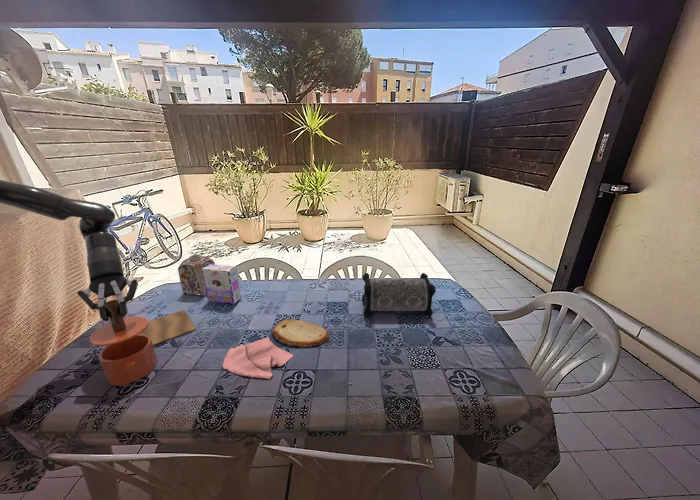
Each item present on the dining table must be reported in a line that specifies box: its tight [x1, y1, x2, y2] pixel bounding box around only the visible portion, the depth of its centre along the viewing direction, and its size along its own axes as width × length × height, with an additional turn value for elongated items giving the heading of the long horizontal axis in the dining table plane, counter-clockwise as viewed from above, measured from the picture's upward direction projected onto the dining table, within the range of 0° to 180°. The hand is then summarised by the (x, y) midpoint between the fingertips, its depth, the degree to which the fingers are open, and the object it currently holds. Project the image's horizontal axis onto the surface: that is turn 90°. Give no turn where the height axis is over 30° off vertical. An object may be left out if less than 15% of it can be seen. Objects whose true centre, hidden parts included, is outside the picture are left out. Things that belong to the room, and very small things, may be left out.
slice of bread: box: [271, 318, 330, 348], centre depth 100 cm, size 18×18×4 cm
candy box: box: [202, 264, 242, 305], centre depth 122 cm, size 14×6×16 cm, turn 77°
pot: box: [98, 334, 158, 386], centre depth 83 cm, size 12×18×8 cm
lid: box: [89, 299, 149, 347], centre depth 78 cm, size 13×13×10 cm
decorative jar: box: [177, 254, 216, 296], centre depth 131 cm, size 12×12×18 cm
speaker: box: [361, 272, 437, 319], centre depth 115 cm, size 15×29×15 cm, turn 91°
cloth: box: [221, 336, 295, 380], centre depth 88 cm, size 20×22×2 cm
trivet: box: [140, 309, 197, 347], centre depth 104 cm, size 18×18×1 cm
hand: (114, 317), depth 76 cm, fingers closed on lid, 3 cm apart
